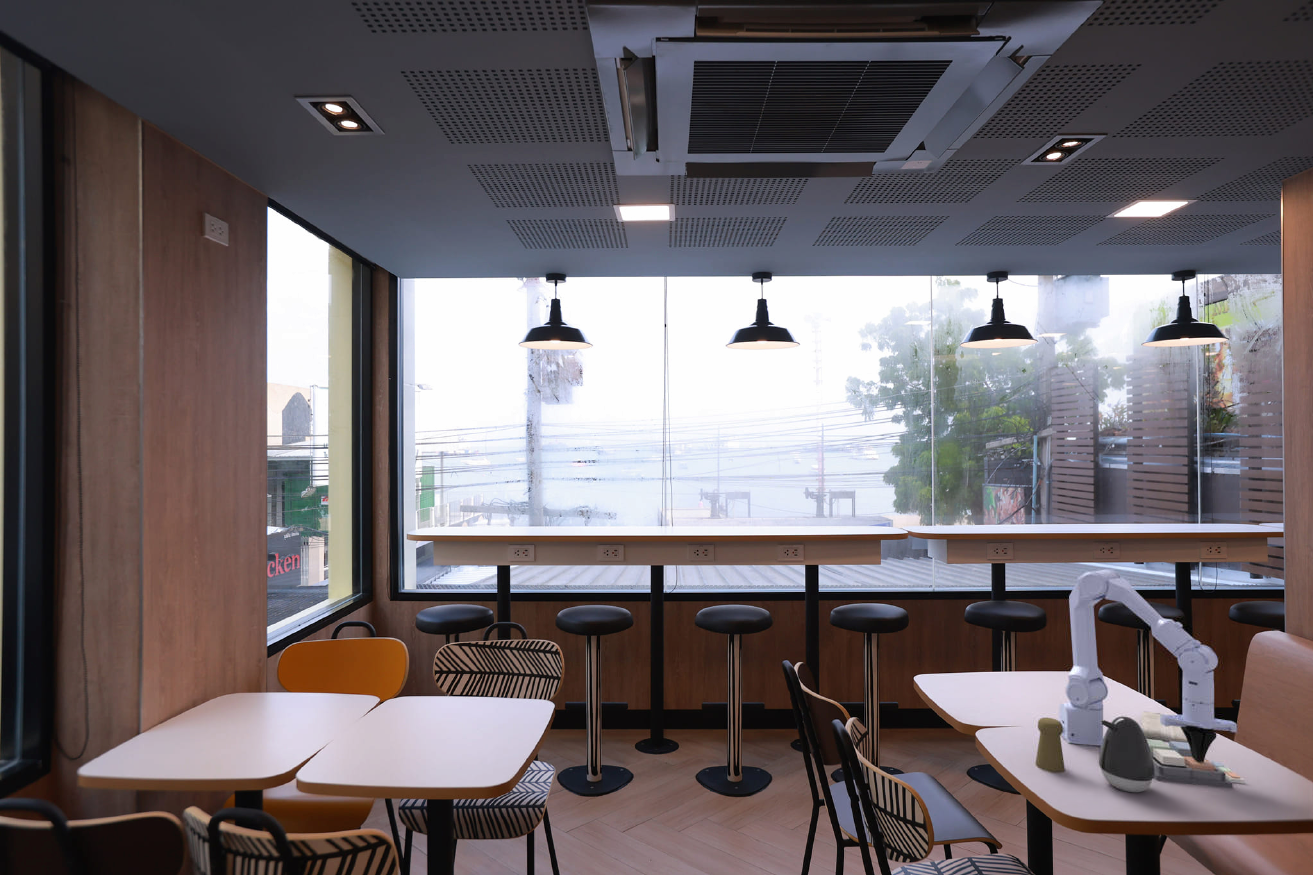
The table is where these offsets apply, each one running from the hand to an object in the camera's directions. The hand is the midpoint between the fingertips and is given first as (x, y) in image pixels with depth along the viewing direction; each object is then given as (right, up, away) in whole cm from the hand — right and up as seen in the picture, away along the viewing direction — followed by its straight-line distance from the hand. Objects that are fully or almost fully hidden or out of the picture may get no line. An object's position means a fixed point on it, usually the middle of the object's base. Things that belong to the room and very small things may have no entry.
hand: (1198, 759), depth 160 cm
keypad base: (-2, -4, +3) cm, 6 cm away
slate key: (+1, -1, +6) cm, 6 cm away
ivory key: (-6, -1, +1) cm, 6 cm away
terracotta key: (0, -2, 0) cm, 2 cm away
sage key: (-5, -1, +7) cm, 9 cm away
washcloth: (+13, -6, +27) cm, 30 cm away
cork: (-32, -3, +3) cm, 32 cm away
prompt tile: (+7, -4, +1) cm, 8 cm away
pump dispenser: (-21, -3, -6) cm, 22 cm away
